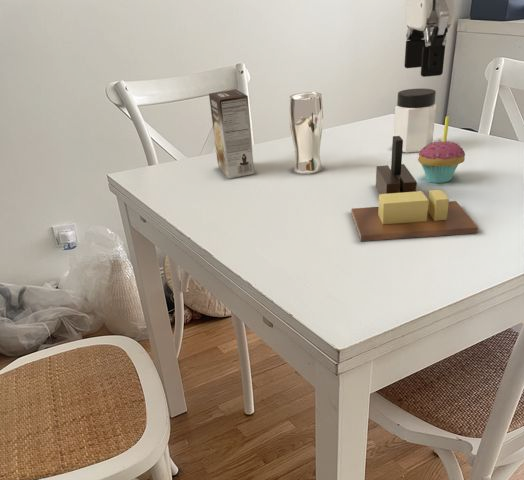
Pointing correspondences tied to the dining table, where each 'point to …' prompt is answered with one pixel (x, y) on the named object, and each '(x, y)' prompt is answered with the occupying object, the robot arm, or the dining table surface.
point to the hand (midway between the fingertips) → (422, 71)
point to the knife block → (394, 180)
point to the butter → (403, 207)
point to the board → (412, 225)
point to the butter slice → (438, 205)
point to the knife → (397, 157)
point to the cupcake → (441, 158)
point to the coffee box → (232, 133)
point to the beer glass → (306, 130)
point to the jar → (415, 118)
